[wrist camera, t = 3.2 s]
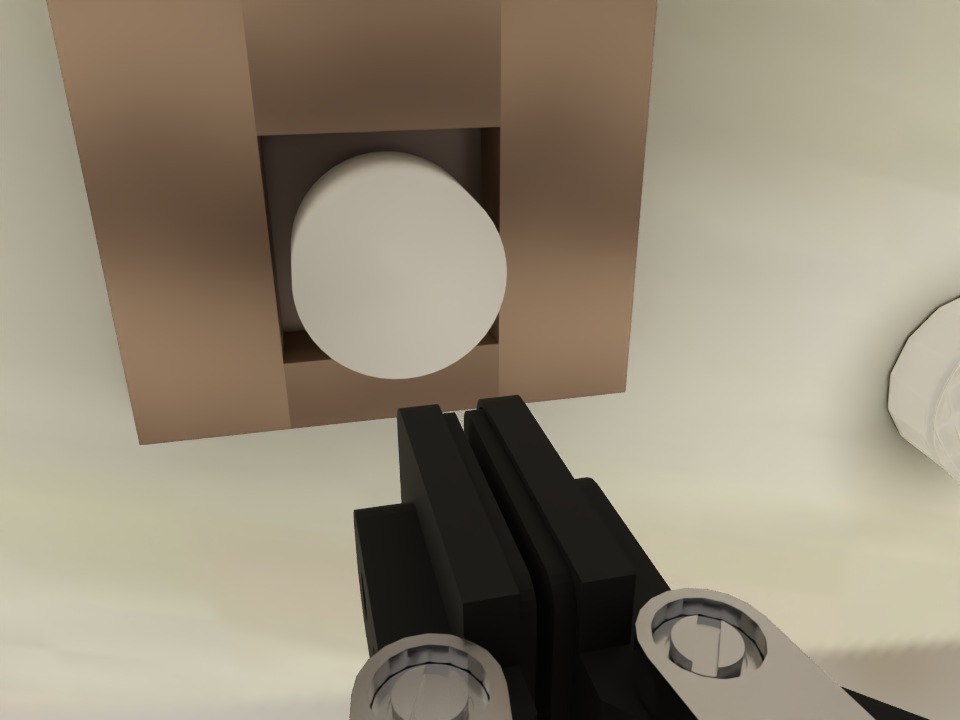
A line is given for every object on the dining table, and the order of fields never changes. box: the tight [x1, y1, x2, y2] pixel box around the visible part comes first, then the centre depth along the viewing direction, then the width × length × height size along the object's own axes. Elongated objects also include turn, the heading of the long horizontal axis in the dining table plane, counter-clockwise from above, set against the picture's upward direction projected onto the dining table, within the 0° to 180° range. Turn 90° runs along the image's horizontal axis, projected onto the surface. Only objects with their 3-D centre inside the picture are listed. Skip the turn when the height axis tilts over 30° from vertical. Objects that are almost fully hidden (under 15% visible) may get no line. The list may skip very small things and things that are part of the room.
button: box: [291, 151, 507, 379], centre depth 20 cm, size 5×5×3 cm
